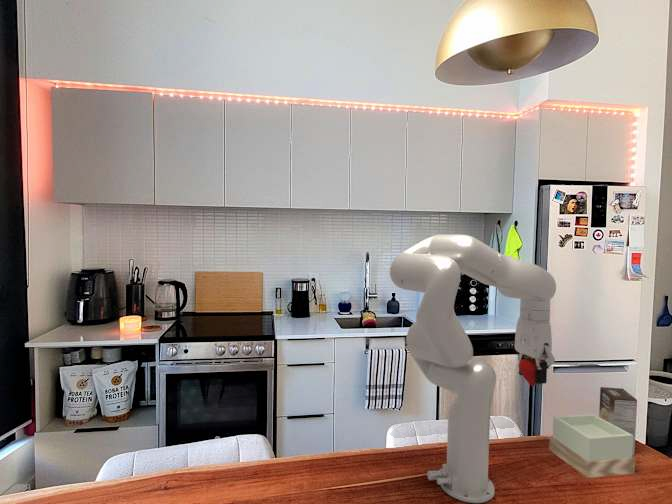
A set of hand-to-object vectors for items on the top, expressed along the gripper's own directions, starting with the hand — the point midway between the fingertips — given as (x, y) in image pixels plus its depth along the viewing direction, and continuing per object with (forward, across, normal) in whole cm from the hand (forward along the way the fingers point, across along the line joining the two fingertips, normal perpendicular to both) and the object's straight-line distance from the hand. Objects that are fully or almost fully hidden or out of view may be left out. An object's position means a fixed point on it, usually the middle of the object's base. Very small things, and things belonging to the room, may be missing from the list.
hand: (532, 378), depth 114 cm
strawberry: (+2, 0, 0) cm, 2 cm away
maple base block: (+22, +6, +14) cm, 27 cm away
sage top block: (+17, +6, +14) cm, 23 cm away
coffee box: (+22, 0, +28) cm, 36 cm away
